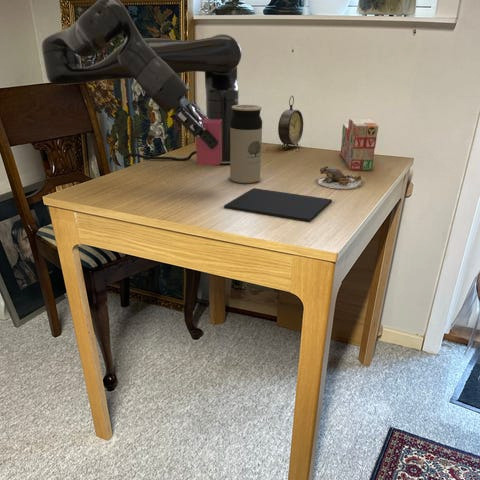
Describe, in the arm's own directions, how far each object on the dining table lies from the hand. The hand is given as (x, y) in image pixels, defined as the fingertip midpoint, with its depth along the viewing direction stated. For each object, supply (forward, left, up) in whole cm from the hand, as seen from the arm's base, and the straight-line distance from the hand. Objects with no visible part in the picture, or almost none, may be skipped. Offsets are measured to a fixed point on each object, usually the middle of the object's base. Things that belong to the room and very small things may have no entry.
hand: (217, 143), depth 114 cm
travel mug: (0, +15, -12) cm, 19 cm away
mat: (+16, -1, -12) cm, 20 cm away
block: (-2, -1, -4) cm, 5 cm away
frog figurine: (+23, +24, -12) cm, 36 cm away
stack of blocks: (+21, +51, -12) cm, 56 cm away
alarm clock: (-5, +61, -12) cm, 63 cm away
